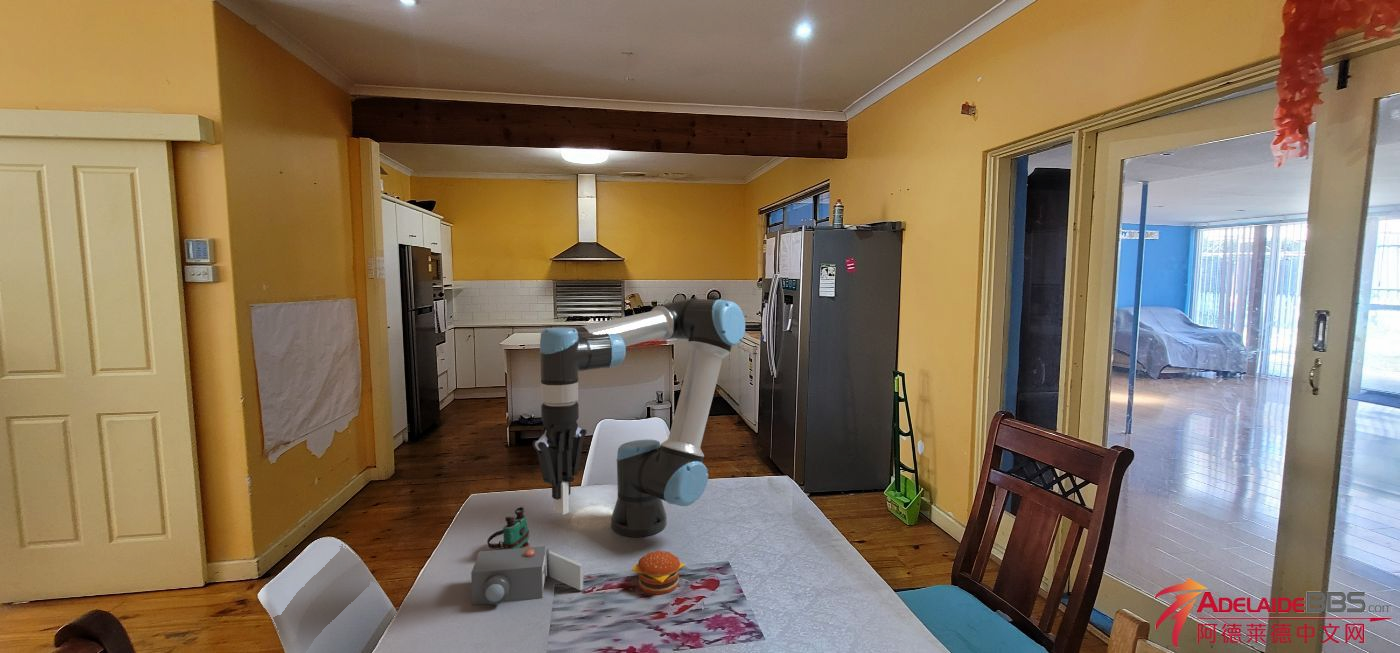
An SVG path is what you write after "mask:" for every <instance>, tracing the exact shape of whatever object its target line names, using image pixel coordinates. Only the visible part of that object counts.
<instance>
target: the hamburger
mask: <svg viewBox="0 0 1400 653" xmlns="http://www.w3.org/2000/svg"><path fill="white" fill-rule="evenodd" d="M686 566H687V565H686V564H685V563H682V562H681V561H680V559H679V557H678V556H676V555H675V554H673V553H671V552H670V551H664V550H663V551H662V550H655V551H650V552H648V553H646V554H644V555H643V556H642V557H640V559H638V563H636V564H635V565H634V566H633V567H632V569H631V570H630V571H632V572H634V573H635V572H636V573H637V575H638V582H637V583H638V586H639V588H640V589H641V591H643V592H644V593H647V594H651V595H665V594H669V593H671V592H673V591H675V590H676V589H677V587H679V585H680V577H679V575H680V569H681V568H683V567H686Z"/></svg>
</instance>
